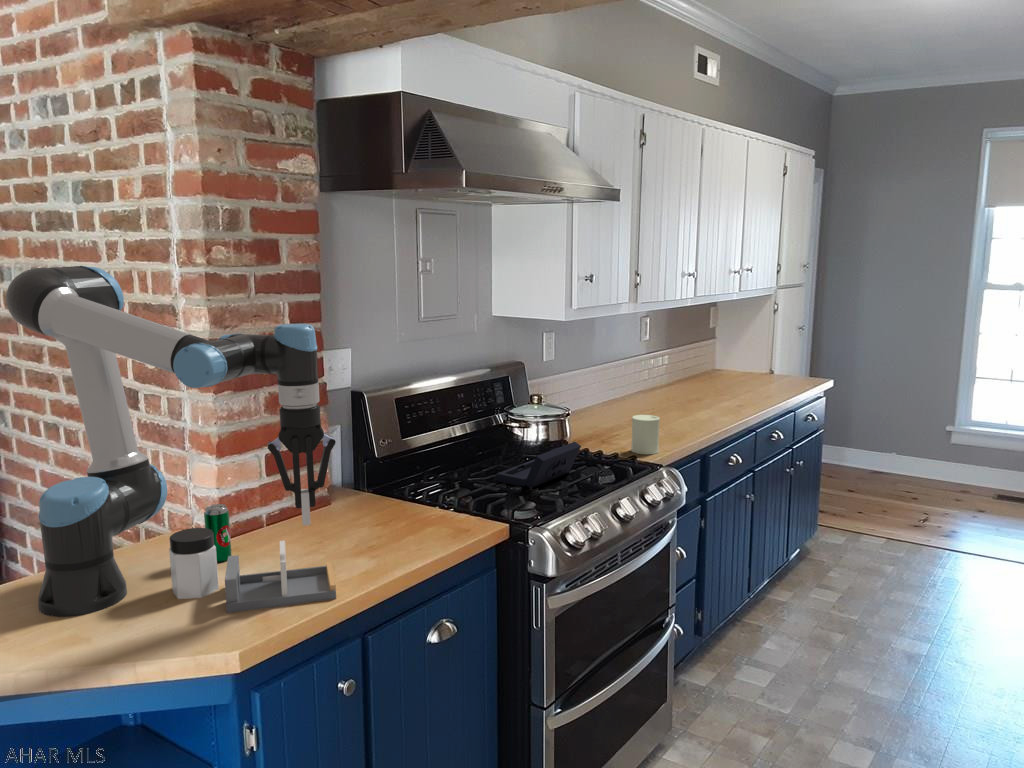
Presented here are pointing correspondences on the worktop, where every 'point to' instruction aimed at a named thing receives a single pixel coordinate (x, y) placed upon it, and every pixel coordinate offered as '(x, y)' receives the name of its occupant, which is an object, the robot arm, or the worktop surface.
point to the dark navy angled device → (542, 467)
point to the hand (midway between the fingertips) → (306, 522)
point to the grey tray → (276, 587)
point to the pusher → (283, 571)
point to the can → (645, 434)
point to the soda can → (219, 529)
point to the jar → (193, 563)
